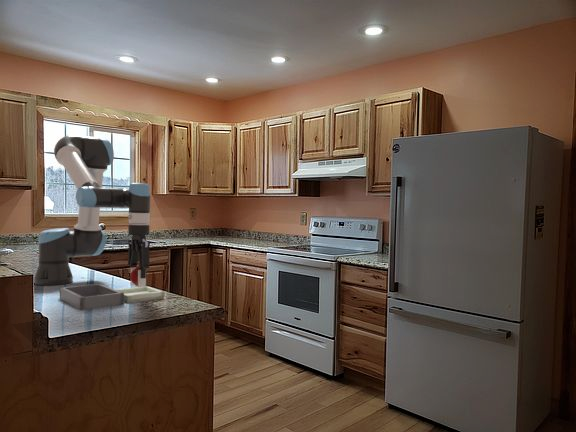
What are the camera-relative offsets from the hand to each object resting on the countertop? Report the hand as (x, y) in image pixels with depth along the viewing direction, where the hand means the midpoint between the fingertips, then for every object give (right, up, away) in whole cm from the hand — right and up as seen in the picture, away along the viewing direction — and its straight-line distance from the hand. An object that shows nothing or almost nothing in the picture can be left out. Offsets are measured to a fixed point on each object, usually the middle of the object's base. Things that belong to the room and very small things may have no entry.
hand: (138, 285), depth 168 cm
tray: (0, -5, 0) cm, 5 cm away
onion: (0, 0, 0) cm, 0 cm away
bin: (-14, -4, -9) cm, 17 cm away
